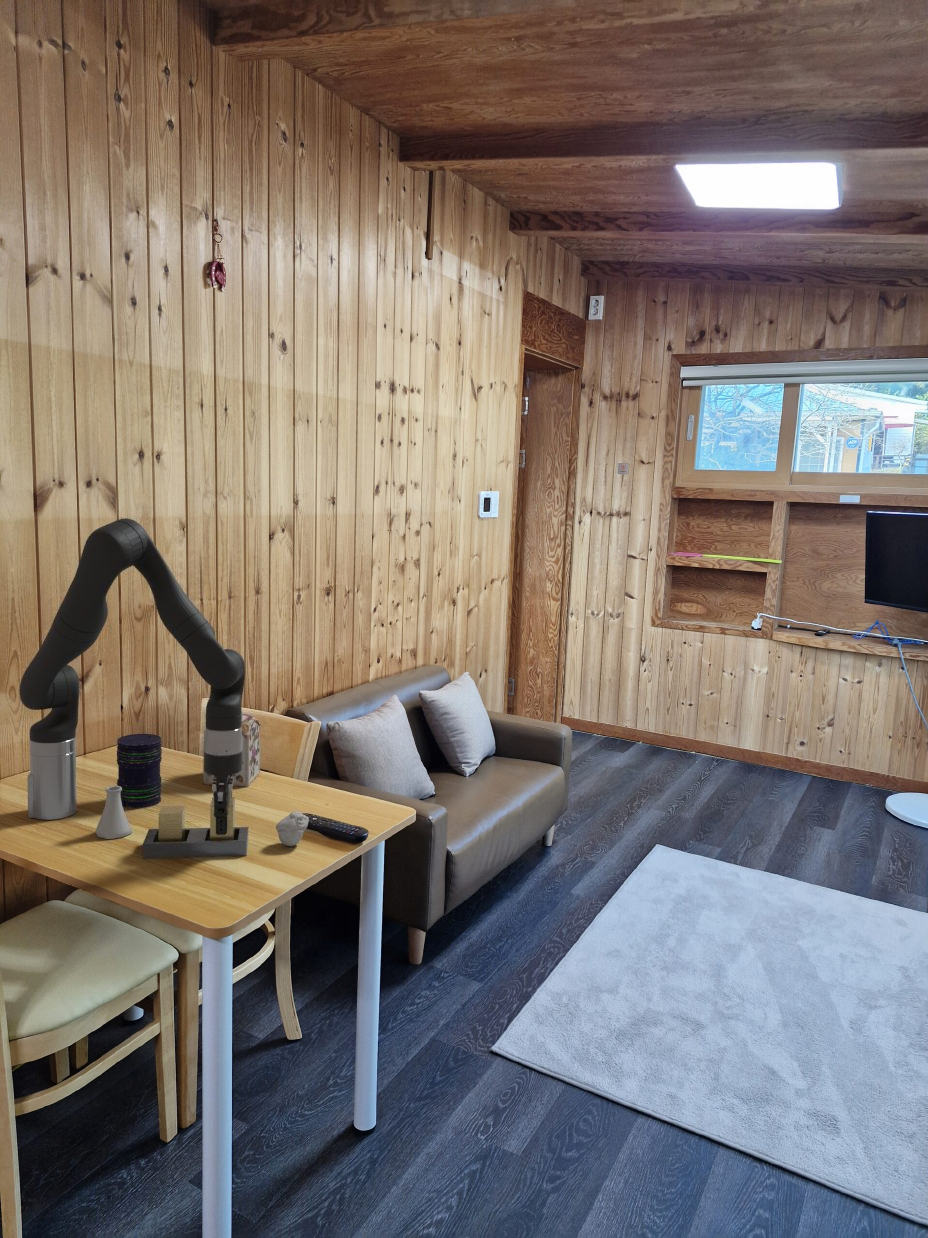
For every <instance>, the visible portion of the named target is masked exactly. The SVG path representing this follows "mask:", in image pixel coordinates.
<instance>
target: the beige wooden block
mask: <svg viewBox="0 0 928 1238" xmlns="http://www.w3.org/2000/svg"><path fill="white" fill-rule="evenodd" d="M227 800H228V798H227ZM235 806H236V797H234V796H232V798H231V803H230V805H228V817H227V834H225V835H217V834H216V817H214V805H213V797H212V798H211V801H210V807H209V809H210V812H209V813H210V815H209V817H210V818H209V819H210V820H209V822H210V823H209V825H210V826H209V828H210V841H225V840H234V827H235V825H236V824H235V821H236V820H235V817H236V816H235V815H236V813H235V811H236V810H235V809H236V807H235ZM218 811H224V808H218Z"/></svg>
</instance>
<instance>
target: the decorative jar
mask: <svg viewBox="0 0 928 1238" xmlns="http://www.w3.org/2000/svg"><path fill="white" fill-rule="evenodd" d="M241 728H242V738H243V742H242V770H241V771H240V772H239V773H237V774H234V775H232V777H231V778H233V787H245V788H247V787H249V786H250V785H251V784H252V783H253V781H254V780H256V778H257V777H258V775H259V774H260V773H261V723H260V722H259V721H258V719H257V718H256V717H255V716H253V715H251V714H248V713H243V710H242V726H241ZM204 736H205V730H204V731H203V737H204ZM202 759H203V761H202V763H203V766H202V773H203V774H202V777H203V778H202V780H203V784H204V785H211V786H212V782H213V779H214V778H216V776H214V775H209V774H207V773H206V772H205V771H204V758H202Z"/></svg>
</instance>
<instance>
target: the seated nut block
mask: <svg viewBox="0 0 928 1238" xmlns="http://www.w3.org/2000/svg"><path fill="white" fill-rule="evenodd" d="M185 806H186V805H161V807H160V809H159V811H158V829H159V842H184V840H185V823H186V822H185V820H186V819H185V816H186V815H185V812H186V811H185V810H186V809H185V808H186V807H185Z"/></svg>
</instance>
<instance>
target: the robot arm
mask: <svg viewBox="0 0 928 1238" xmlns="http://www.w3.org/2000/svg"><path fill="white" fill-rule="evenodd" d="M84 543H85V544H84V546H83V549H82V553H81V556H80V559H79V562H78V565H77V569H76V571H75V574H74V577H73V579H72V581H71V583H70V585H69V587H68V589H67V592H66V594H65V596H64V598H63V600H62V602H61V604H60V605H59V607H58V609H57V612H56V614H55V616H54V618H53V620H52V623H51V625H50V629H48V632H47V634H46V636H45V638H44V640H43V642H42V644H41V646H40V647H39V649H38V651H37V652H36V653H35V655H34V657H33V658H32V660H31V661H30V662H29V664H28V666H27V667H26V669H25V671H24V673H23V675H22V677H21V680H20V683H19V691H18V692H19V698H20V701H21V703H22V704H23V706H24V707H26V708H27V709H29V710H31V711H32V710H33V711H39V710H42V711H43V710H50V709H51V710H50V712H49V713H48V714H47V715H46V716H44V717H43V718H41V719H40V720H38V721H36V722H35V723H34V724H32V725H31V726H30V728H29V765H30V766H29V770H30V771H29V773H28V774H27V777H26V778H27V779H26V781H27V818H30V819H32V818H34V819H37V820H46V821H47V820H50V821H51V820H61V819H64V818H67V817H70V816H73V815H75V813H76V812H77V750H76V749H77V747H76V746H77V739H76V738H77V737H76V736H77V734H76V733H77V732H76V731H77V728H78V723H79V706H80V705H79V703H80V682H79V677H78V673H77V671H76V669H74V667H73V666H71V665H69V664H70V663H72V662H74V660H76V659H77V658H78V657H80V656H81V655H82V654H84V653H85V652H86V651H88V650H89V649H90V648H91V647H92V646H93V645H94V643H96V641H97V640H98V638H99V636H100V634H101V632H102V631H103V629H104V628H105V627H104V626H105V624H106V622H107V619H108V616H109V615H108V614H109V611H108V610H109V608H108V602H107V599H106V598H107V594H108V592H109V590H110V589H111V586H112V585H113V583H114V582H115V580H116V579H117V577H119V575H120V574H121V573H122V572H124V571H126V570H127V569H129V568H131V567H132V566H133V567H134V568H135V569H136V570H137V571H138V572H139V573H140V574H141V576H142V577H143V578H144V579H145V581H146V582H147V584H148V586H149V588H150V590H151V593H152V596H153V598H154V599H153V600H154V602H155V603H154V604H155V606H156V610H157V613H158V616H159V619H160V620H161V622H162V624H163V625H164V627H165V629H166V630H167V631H168V632H169V633H170V635H171V636H172V637H173V638H174V639H175V640H176V642H177V643H178V644H179V645H180V646H181V647H182V649H183V650H184V651H185V652H186V653H187V655H188V657H189V659H190V661H191V663H192V664H193V666H194V668H195V669H196V671H197V672H198V674H199V676H200V677H201V678H202V679H203V680H204V682H206V684H208V685H209V686H210V695H209V698H208V700H207V703H206V707H205V729H204V731H205V736H204V735H203V759H204V771H205V772H206V773H207V774H209V775H214V776H216V778H214V779H213V782H212V785H211V786H212V787H211V790H212V798H213V805H214V817H216V834H217V835H225V834H227V817H228V805H230V803H231V798H232V797H233V788H234V786H233V778H231V777H232V775H234V774H237V773H239V772H240V771H241V770H242V742H243V738H242V728H241V726H242V714H243V713H242V711H243V709H242V699H243V696H244V688H245V681H246V680H245V679H246V664H245V661H244V658H243V656H242V655H241V654H240V653H239V652H238V651H237V650H235V649H232V648H231V649H230V648H226V649H224V648H223V646H222V645H221V644H220V642H219V641H218V640H217V638H216V631H215V629H214V628H213V627H214V626H212V625H211V624H210V622H209V621H208V620H207V619H206V617H205V616H204V614H202V613H201V612H200V610H199V609H198V608H197V607H196V606H195V604H194V603H193V601H192V600H190V598H189V597H188V596H187V594H186V593H185V592H184V589H183V588H182V587H181V585H180V584H179V582H178V581H177V579H176V578H175V577H176V576H175V575H174V574H173V572H172V570H171V569H170V567H169V566H168V564H167V562H166V560H165V559H164V557H163V556H162V554H161V552H160V551H159V549H158V548H157V546H156V544H155V542H154V541H153V539H152V538H151V536H150V535H149V533H148V532H147V530H146V529H145V527H143V525H141V524H140V523H139V522H137V521H136V520H134V519H133V518H125V517H124V518H119V519H117V520H114V521H112V522H110V523H109V522H108V523H107V524H105V525H103V526H100V527H98V528H96V529H95V530H94V531H92V532H91V533H90V534H89V536H88V537H87V538H86V541H85V542H84ZM227 798H228V800H227ZM218 808H224V811H218Z"/></svg>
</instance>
